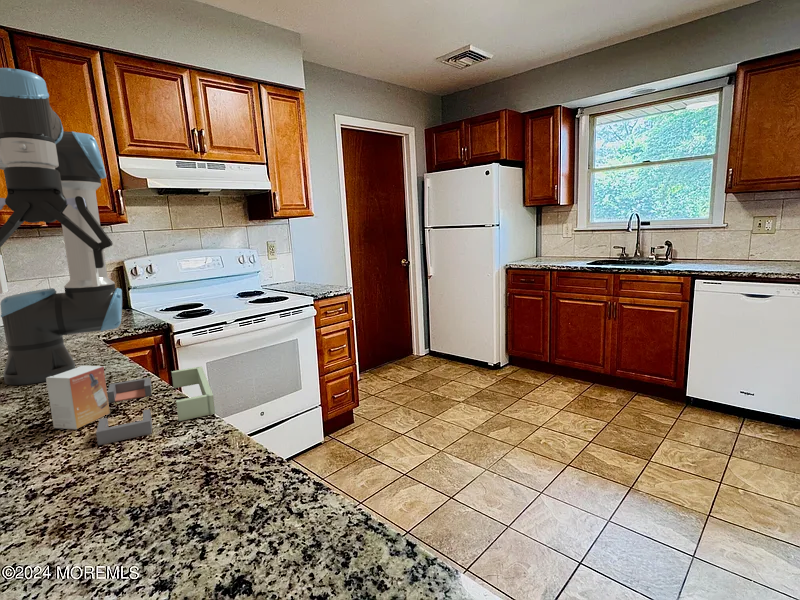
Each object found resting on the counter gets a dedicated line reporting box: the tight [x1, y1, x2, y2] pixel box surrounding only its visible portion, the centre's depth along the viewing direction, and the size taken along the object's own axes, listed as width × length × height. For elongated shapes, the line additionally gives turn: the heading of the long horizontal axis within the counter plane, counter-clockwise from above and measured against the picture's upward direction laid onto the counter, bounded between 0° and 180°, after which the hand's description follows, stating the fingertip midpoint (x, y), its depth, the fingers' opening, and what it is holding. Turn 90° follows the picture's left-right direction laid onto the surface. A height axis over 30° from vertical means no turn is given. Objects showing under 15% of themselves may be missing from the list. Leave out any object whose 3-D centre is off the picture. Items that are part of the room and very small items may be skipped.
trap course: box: [95, 366, 216, 446], centre depth 95 cm, size 30×20×4 cm
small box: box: [45, 365, 111, 430], centre depth 88 cm, size 8×6×10 cm
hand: (51, 289), depth 79 cm, fingers open, 13 cm apart
